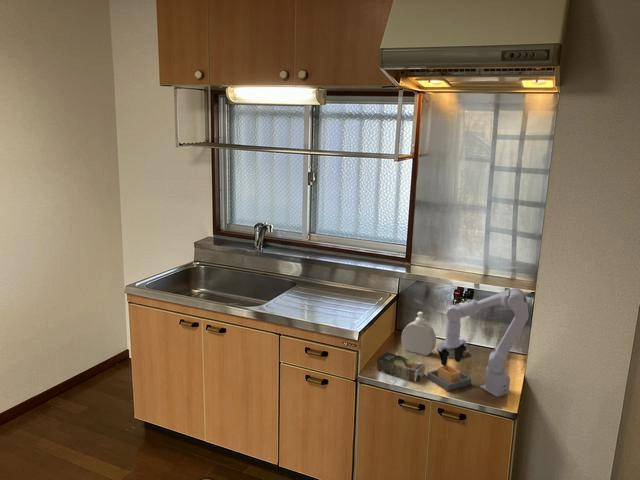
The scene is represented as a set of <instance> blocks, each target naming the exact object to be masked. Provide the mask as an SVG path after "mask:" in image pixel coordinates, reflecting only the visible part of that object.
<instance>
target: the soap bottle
mask: <svg viewBox="0 0 640 480" xmlns="http://www.w3.org/2000/svg"><path fill="white" fill-rule="evenodd" d="M416 315H417V317H415V320H413V321H412V322H410V323H408V324H407V325H406V326H405V327H404V329H403V330H402V333H401V336H400V337H401V345H402V347H403V349H404V350H405V351H407V352H412V353H414V354H418V355H422V356H425V357H426V356H428V355H430V354H431V353H432V352H433V350H434V349H435V347H436V345H437V337H436V336H437V335H436V333H435V330H434V328H433V327H432V326H431V325H430V324H429V323H427V322H425V319H424V317H423V315H424V314H423V311H418V312H417V314H416ZM428 357H429V356H428Z"/></svg>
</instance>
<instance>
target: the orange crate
mask: <svg viewBox="0 0 640 480" xmlns="http://www.w3.org/2000/svg"><path fill="white" fill-rule="evenodd" d="M437 369H438V378H440V379H441V380H443V381H445V382H446V383H448V384H450V383H453V382H456V381H460V372H461V371H460V370H458V369H457V368H455V369H454V367H453V366H451V365H449V364H446V366H443V365H440V366H438V367H437Z"/></svg>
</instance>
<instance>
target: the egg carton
mask: <svg viewBox="0 0 640 480" xmlns="http://www.w3.org/2000/svg"><path fill="white" fill-rule="evenodd" d="M446 350H447V352H449V355H448V358H449V359H453V360H455V349H454V348H449V349H446ZM469 351H470V350H469V349H467V348H466V350H465V351H464V352H463V354H462V356H461V357H467V353H468V352H469Z"/></svg>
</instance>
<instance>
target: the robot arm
mask: <svg viewBox="0 0 640 480" xmlns="http://www.w3.org/2000/svg"><path fill="white" fill-rule="evenodd" d="M496 305H501V306H503V307H504V308H505V307H507V306H508V307H509V309H510V310H511V311H512V312H513V314H514V317H513V319H512V320H511V323H510V324H509V325H508V327H507V329H506V331H505V333H504V334H503V337H502V338H501V340H500V342H499V344H498V345H497V346H496V347H495V348H494V350H493V351H491V352H490V353H489V355H488V362H487V366H486V371H485V379H484V384H482V385H480V386H479V387H480V388H481V389H483V390H484V391H486V392H488V393H490V394H491V395H493V396H495V397H496V398H497V397H500V396H503V395H506V394H509V393H511V391H510V383H511V377H510V376H509V375H508V374H507V372H506V371H505V370H506V369H505V362H506V360H507V357H508V355H509V352H510V351H511V350H512V347H513V346H514V344H515V342H516V340H517V338H518V337H519V335H520V334H521V332H522V330H523V328H524V326H525V325H526V323H527V321H528V319H529V316H530V315H529V309H528V301H527V296H526V295H525V293H524V291H523V290H522V289H520V288H518V287H517V288H516V287H515V288H511V289H506V290H504V291H501V292H499V293H496V294H493V295H491V296H488V297H485V298H483V299H480V300H476V299H471V298H470V299H466V301H465V302H462V303H456V304H452V305H450V306H449V308H448V309H447V311H446V318H447V319H446V327H445V339H444V340H443V342H442V343H441V344H438V345H437V349H436V350H437V351H436V352H437V353H438V355H439V358H440V363H441V366H446V365H448V364H447V363H448V358H449V356H448V355H449V352H447V350H446V349H449V348H454V349H455V359H454V361H455V362H457V363H460V361H461V359H462V357H463V356H462V354H463V352H464V351H465V350H466V349H467V340H466V339H463V338H462V339H460V337H461V336H460V335H461V318H467V317H470V316H472V315H476V314H479V312H480V311H481V309H486V308H489V307H493V306H496Z"/></svg>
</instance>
